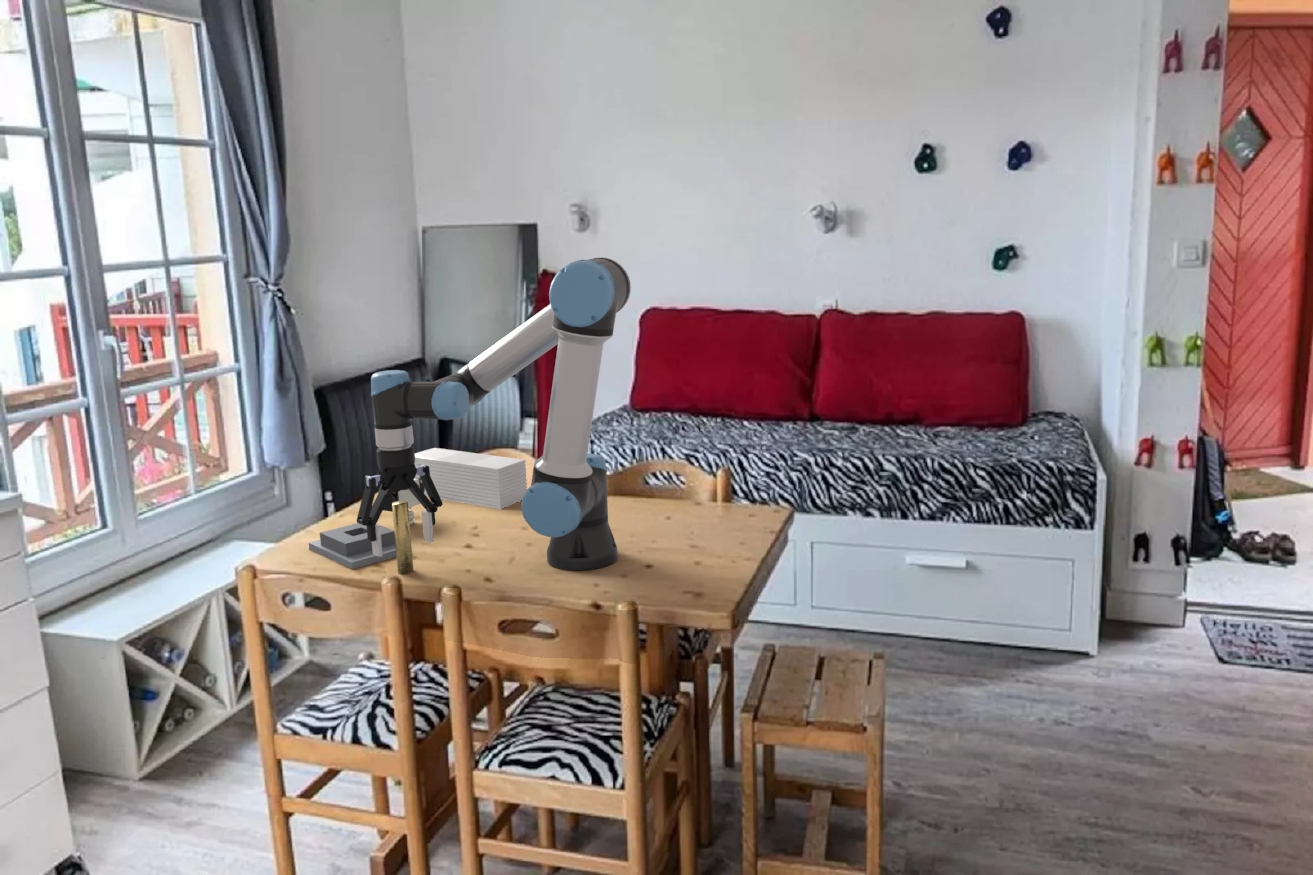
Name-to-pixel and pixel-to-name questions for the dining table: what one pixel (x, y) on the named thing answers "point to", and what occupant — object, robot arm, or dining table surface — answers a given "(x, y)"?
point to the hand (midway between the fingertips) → (403, 548)
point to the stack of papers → (475, 477)
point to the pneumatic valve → (405, 499)
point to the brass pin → (402, 537)
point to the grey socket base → (353, 545)
